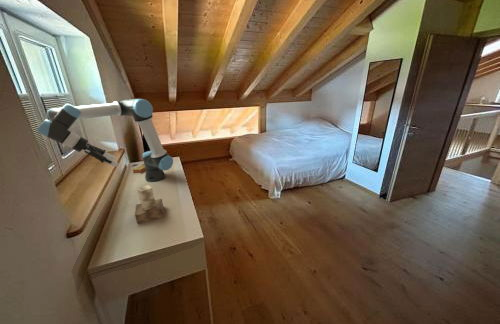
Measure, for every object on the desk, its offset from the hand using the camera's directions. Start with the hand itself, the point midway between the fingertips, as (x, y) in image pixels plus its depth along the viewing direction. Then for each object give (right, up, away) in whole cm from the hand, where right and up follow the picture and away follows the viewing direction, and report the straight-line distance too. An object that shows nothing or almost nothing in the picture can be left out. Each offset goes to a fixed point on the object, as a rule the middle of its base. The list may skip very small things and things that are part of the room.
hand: (116, 162), depth 125 cm
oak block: (+21, -26, -3) cm, 33 cm away
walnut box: (+22, -32, -1) cm, 38 cm away
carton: (-17, -8, +67) cm, 70 cm away
